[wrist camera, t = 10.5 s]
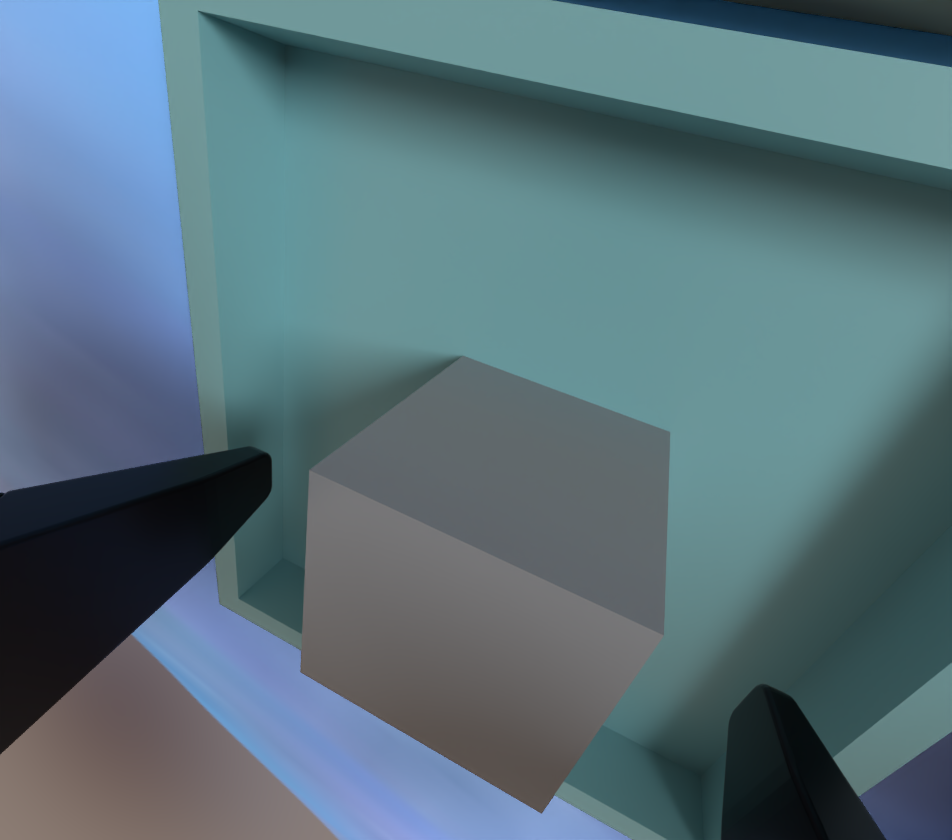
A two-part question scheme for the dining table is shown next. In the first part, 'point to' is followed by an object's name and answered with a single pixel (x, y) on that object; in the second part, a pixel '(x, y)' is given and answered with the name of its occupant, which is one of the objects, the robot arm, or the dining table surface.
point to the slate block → (489, 571)
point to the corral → (874, 11)
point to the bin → (604, 325)
